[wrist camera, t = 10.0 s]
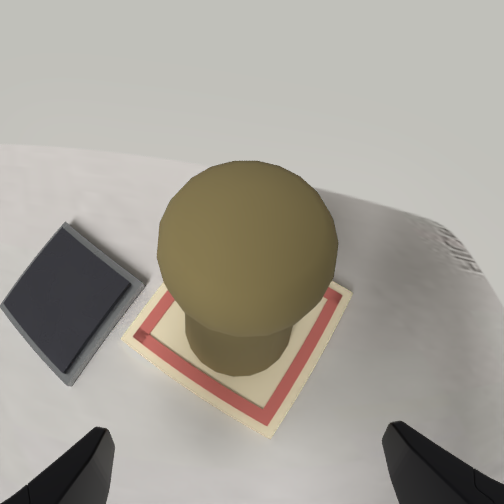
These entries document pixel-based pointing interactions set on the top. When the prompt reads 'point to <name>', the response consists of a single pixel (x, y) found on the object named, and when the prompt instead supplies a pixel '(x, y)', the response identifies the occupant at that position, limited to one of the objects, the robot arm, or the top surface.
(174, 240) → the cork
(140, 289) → the ink pad
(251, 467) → the top surface
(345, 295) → the print card
